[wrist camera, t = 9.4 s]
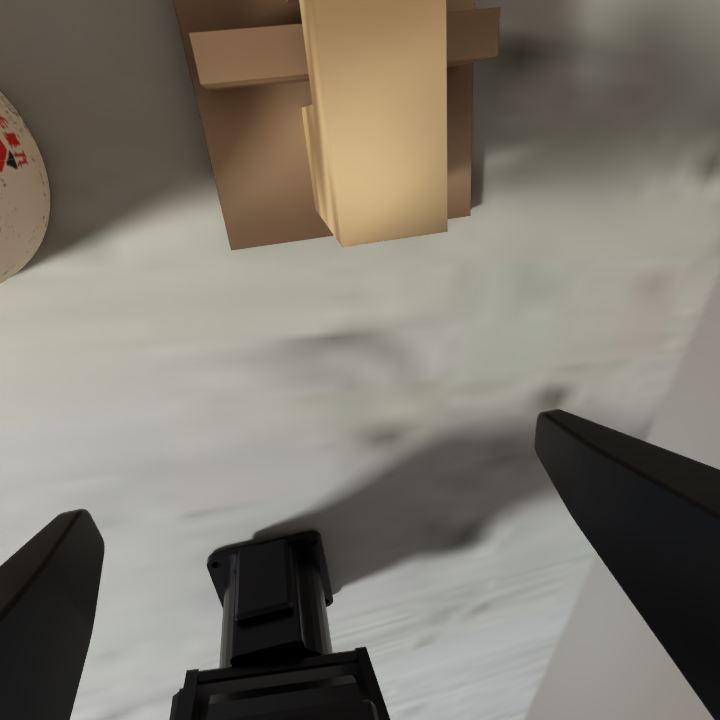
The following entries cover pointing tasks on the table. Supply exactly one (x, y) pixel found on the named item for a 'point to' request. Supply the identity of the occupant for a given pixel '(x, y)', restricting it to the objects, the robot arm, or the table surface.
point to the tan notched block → (377, 116)
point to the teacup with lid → (20, 193)
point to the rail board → (297, 110)
